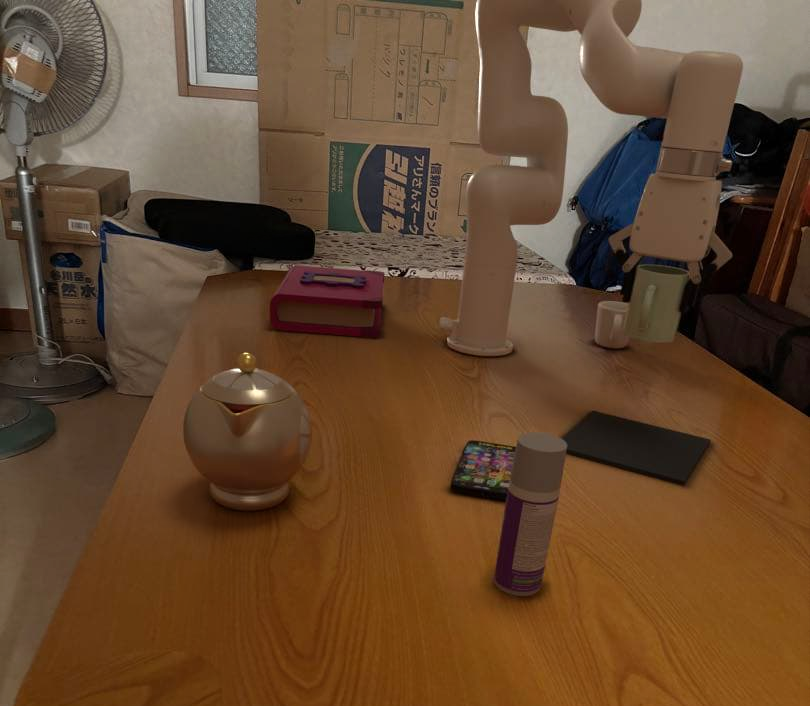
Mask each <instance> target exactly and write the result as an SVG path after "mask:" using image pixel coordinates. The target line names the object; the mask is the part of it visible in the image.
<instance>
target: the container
mask: <svg viewBox="0 0 810 706" xmlns="http://www.w3.org/2000/svg"><path fill="white" fill-rule="evenodd" d="M561 438H562V437H561ZM561 438H560V437H559V436H556V435H554V434H551V433H545V432H537V431H535V432H532V431H531V432H526V433H522V434H520V435H519V436H518V437H517V440H516V445H515V447H516V450H515V455H514V460H513V466H512V471H511V476H510V481H509V486H508V492H507V498H506V500H505V506H504V512H503V518H502V524H501V531H500V535H499V543H498V549H497V554H496V555H497V556H496V562H495V568H494V575H493V584H494V585H495V587H496V588H497V589H499V590H500V591H502V592H504V593H506V594H508V595H512V596H516V597H529V596H533V595H536V594H537V593H538V592H539V591H540V590H541V587H542V583H543V578H544V573H545V569H546V563H547V558H548V554H549V549H550V543H551V538H552V533H553V529H554V523H555V518H556V514H557V508H558V503H559V497H560V493H561V486H562V481H563V475H564V470H565V469H564V468H565V463H566V456H567V453H566V451H567V443H566V442H565V441H564V440H563V439H561Z"/></svg>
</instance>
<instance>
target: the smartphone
mask: <svg viewBox="0 0 810 706" xmlns="http://www.w3.org/2000/svg"><path fill="white" fill-rule="evenodd" d="M515 450H516V446H512V445H507V444H501V443H500V444H499V443H495V442H489V441H481V440H473V439H471V440H468V441H467V443H465V446H464V448H463V450H462V453H461V456H460V457H459V460H458V463H457V466H456V467H455V471H454V473H453V475H452V478H451V482H450V489H451V491H453V492H456V493H460V494H465V495H471V496H477V497H483V498H489V499H495V500H502V501H506V498H507V492H508V486H509V481H510V476H511V471H512V466H513V460H514V455H515Z"/></svg>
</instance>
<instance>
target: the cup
mask: <svg viewBox="0 0 810 706" xmlns="http://www.w3.org/2000/svg"><path fill="white" fill-rule="evenodd" d="M628 303H629V302H627V303H624V302H622V301H615V300H604V301H600V302H598V303H597V311H596V319H595V320H596V322H595V333H594V341H595V343H596V344H597V345H599V346H601V347H603V348H607V349H614V350H615V349H616V350H617V349H623V348H625V347H626V346H628V344H629V341H630V339H631V337H628V336H626V335H625V334H624V333H623V326H624V322H625V317H626V312H627V307H628Z"/></svg>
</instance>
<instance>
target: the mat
mask: <svg viewBox="0 0 810 706" xmlns="http://www.w3.org/2000/svg"><path fill="white" fill-rule="evenodd" d="M561 439H563V440H564V441H565V442H566V443H567V451H566V454H568V455H570V456H575V457H578V458H582V459H586V460H588V461H589V460H590V461H594V462H598V463H601V464H605V465H609V466H612V467H615V468H619V469H622V470H626V471H630V472H633V473H638V474H641V475H645V476H648V477H652V478H655V479H659V480H663V481H667V482H670V483H674V484H677V485H681V486H685V485H686V483H687V482H688V480H689V478H690V477H691V475H692V473H693V472H694V470H695V468H696V467H697V465H698V463H699V461H700V460H701V458H702V457H703V455H704V454H705V452H706V451H707V448H708V446H709V445H710V444H711V441H712V440H711V439H710V438H706V437H702V436H698V435H694V434H690V433H686V432H682V431H678V430H675V429H670V428H665V427H661V426H657V425H653V424H650V423H647V422H646V423H645V422H641V421H638V420H633V419H630V418H625V417H621V416H617V415H613V414H609V413H605V412H601V411H597V410H591V411H590V412H589V413H588V414H587V415H585V417H583V418H582V419H581V420H580V421H579V422H578V423H577V424H576V425H574V427H572V428H571V429H570V430H569V431H567V433H566V434H564V435H563V437H561Z"/></svg>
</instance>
